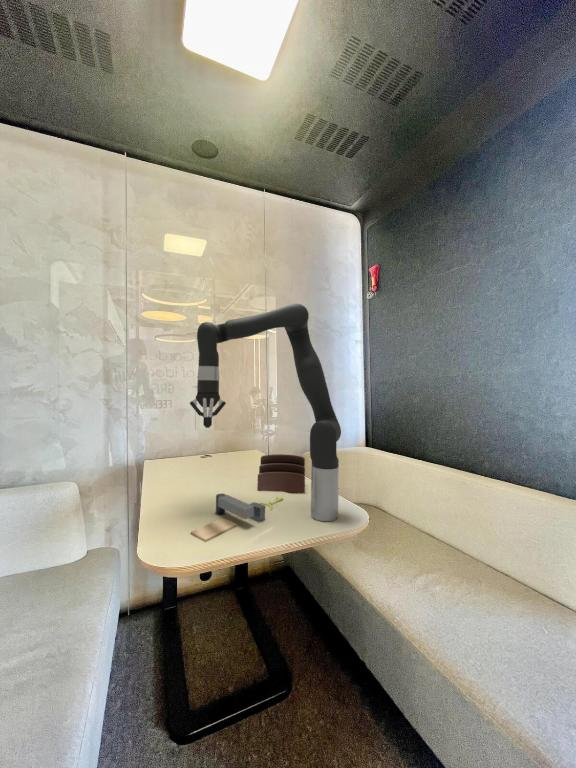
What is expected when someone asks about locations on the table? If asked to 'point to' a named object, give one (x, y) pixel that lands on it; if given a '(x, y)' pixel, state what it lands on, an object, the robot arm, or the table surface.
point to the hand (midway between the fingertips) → (207, 427)
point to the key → (272, 502)
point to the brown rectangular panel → (213, 529)
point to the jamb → (258, 512)
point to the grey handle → (233, 506)
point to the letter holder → (282, 473)
